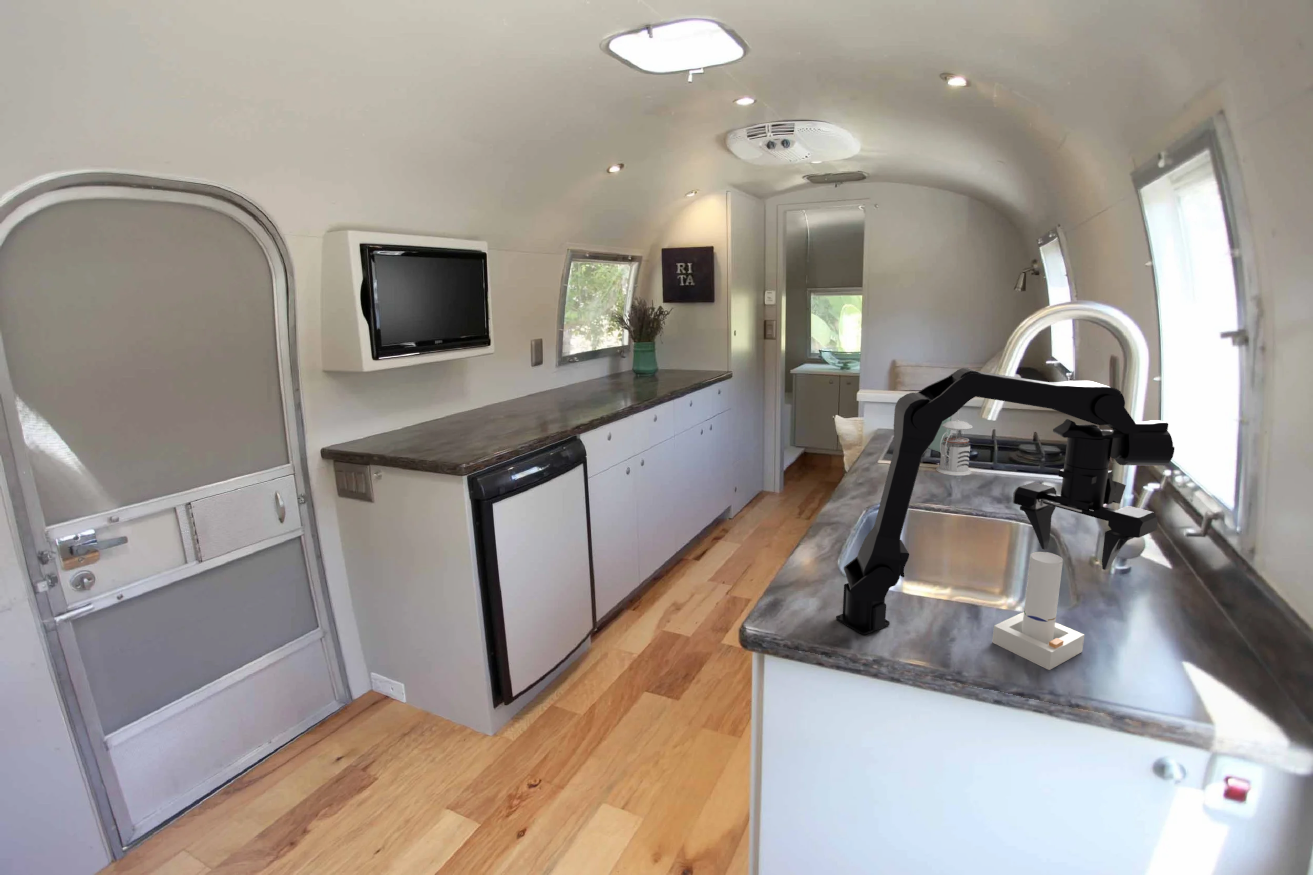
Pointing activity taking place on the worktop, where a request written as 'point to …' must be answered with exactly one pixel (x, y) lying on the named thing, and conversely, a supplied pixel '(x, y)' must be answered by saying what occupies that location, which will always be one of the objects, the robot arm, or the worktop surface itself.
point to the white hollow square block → (1038, 643)
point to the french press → (955, 450)
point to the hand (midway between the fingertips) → (1073, 558)
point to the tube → (1042, 596)
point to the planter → (940, 436)
